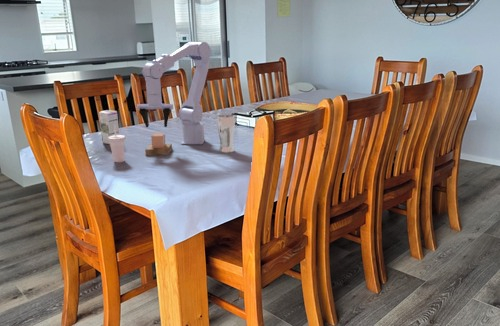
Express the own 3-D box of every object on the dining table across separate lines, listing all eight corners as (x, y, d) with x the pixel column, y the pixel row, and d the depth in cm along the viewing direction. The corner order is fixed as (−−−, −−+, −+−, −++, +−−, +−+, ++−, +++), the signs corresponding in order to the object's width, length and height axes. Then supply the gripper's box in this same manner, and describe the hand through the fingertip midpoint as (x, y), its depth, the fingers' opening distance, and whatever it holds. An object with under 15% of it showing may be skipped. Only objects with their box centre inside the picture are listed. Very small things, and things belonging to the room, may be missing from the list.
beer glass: (220, 154, 176) (219, 117, 171) (217, 149, 182) (215, 114, 178) (236, 152, 178) (236, 116, 173) (233, 148, 184) (232, 113, 179)
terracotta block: (165, 145, 180) (164, 133, 178) (163, 148, 176) (162, 136, 174) (154, 145, 180) (154, 133, 179) (152, 147, 176) (151, 136, 174)
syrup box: (120, 142, 194) (117, 110, 190) (110, 145, 190) (106, 112, 185) (112, 140, 197) (109, 109, 193) (101, 143, 193) (98, 111, 188)
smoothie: (121, 157, 172) (117, 123, 168) (130, 160, 168) (127, 125, 164) (107, 161, 167) (103, 126, 163) (116, 164, 163) (113, 128, 159)
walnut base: (172, 149, 183) (171, 143, 182) (167, 155, 174) (167, 149, 173) (151, 149, 183) (150, 143, 182) (145, 155, 174) (145, 149, 174)
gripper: (133, 95, 170) (136, 129, 174) (170, 95, 170) (172, 128, 174) (138, 92, 177) (140, 125, 181) (173, 92, 176) (175, 124, 181)
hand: (156, 126), depth 178 cm, fingers open, 7 cm apart
